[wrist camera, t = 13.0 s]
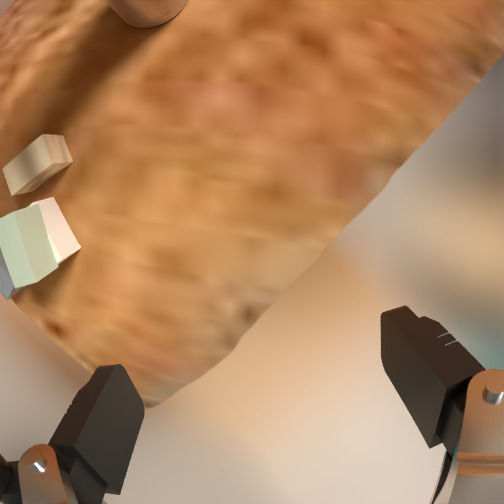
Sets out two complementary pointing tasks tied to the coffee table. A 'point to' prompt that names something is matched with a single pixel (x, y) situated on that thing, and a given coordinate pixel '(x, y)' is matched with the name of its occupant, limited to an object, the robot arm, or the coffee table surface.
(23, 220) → the sage brick
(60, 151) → the oak brick
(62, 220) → the cream brick
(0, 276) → the slate brick
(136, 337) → the coffee table surface
